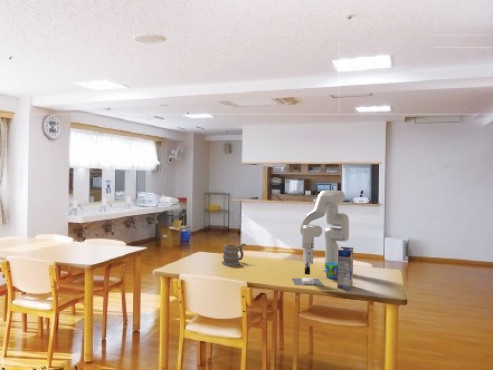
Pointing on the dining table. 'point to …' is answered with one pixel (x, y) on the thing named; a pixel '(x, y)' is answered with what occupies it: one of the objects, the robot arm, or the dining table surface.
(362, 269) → the dining table surface
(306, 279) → the tile
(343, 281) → the juice carton
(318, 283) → the mat
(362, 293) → the dining table surface
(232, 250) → the tankard
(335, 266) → the snack cup
